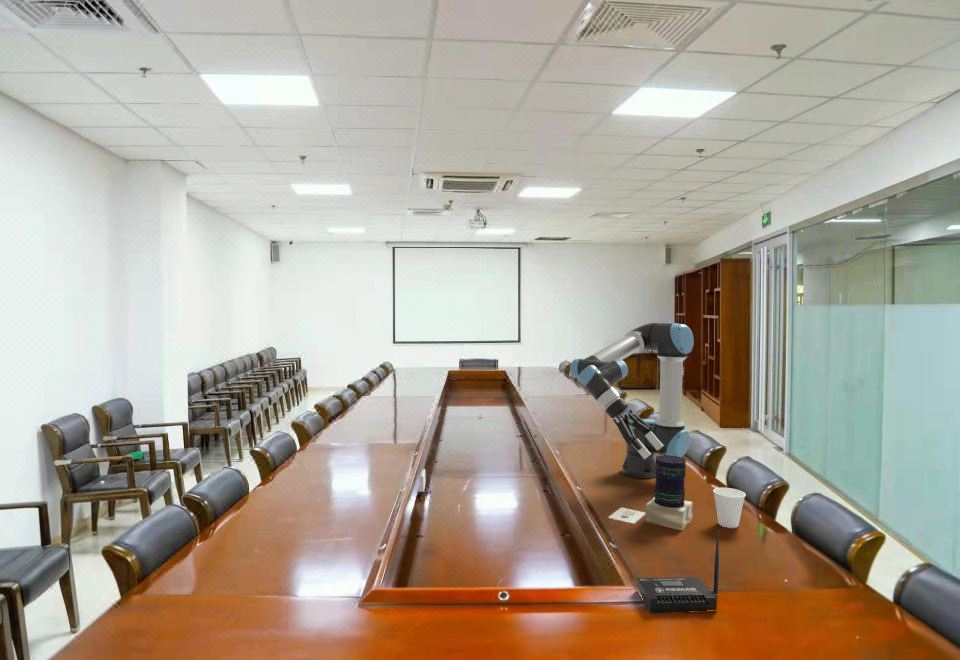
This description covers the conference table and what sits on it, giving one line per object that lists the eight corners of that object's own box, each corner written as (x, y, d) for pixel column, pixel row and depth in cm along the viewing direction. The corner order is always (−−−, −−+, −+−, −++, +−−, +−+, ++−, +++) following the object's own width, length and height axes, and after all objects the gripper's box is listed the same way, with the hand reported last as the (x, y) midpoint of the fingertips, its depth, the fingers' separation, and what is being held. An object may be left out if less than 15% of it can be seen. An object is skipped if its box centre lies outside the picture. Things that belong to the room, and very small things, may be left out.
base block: (656, 511, 205) (657, 494, 205) (692, 519, 198) (693, 501, 198) (645, 522, 195) (645, 504, 195) (682, 530, 188) (682, 512, 188)
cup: (748, 532, 188) (749, 498, 187) (715, 529, 190) (716, 495, 189) (740, 520, 198) (741, 488, 197) (709, 518, 200) (710, 486, 199)
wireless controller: (652, 619, 136) (654, 546, 135) (633, 589, 150) (635, 523, 149) (736, 617, 137) (739, 545, 136) (710, 588, 151) (712, 523, 150)
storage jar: (650, 497, 202) (651, 454, 201) (679, 498, 202) (680, 455, 201) (658, 507, 192) (659, 462, 191) (688, 508, 192) (690, 463, 191)
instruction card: (621, 508, 208) (621, 507, 208) (646, 513, 203) (646, 512, 203) (608, 518, 199) (608, 517, 199) (633, 524, 193) (633, 522, 193)
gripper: (618, 405, 218) (657, 451, 211) (591, 415, 198) (633, 467, 190) (632, 392, 215) (673, 438, 207) (606, 402, 194) (650, 453, 187)
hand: (654, 452), depth 199 cm, fingers open, 13 cm apart
